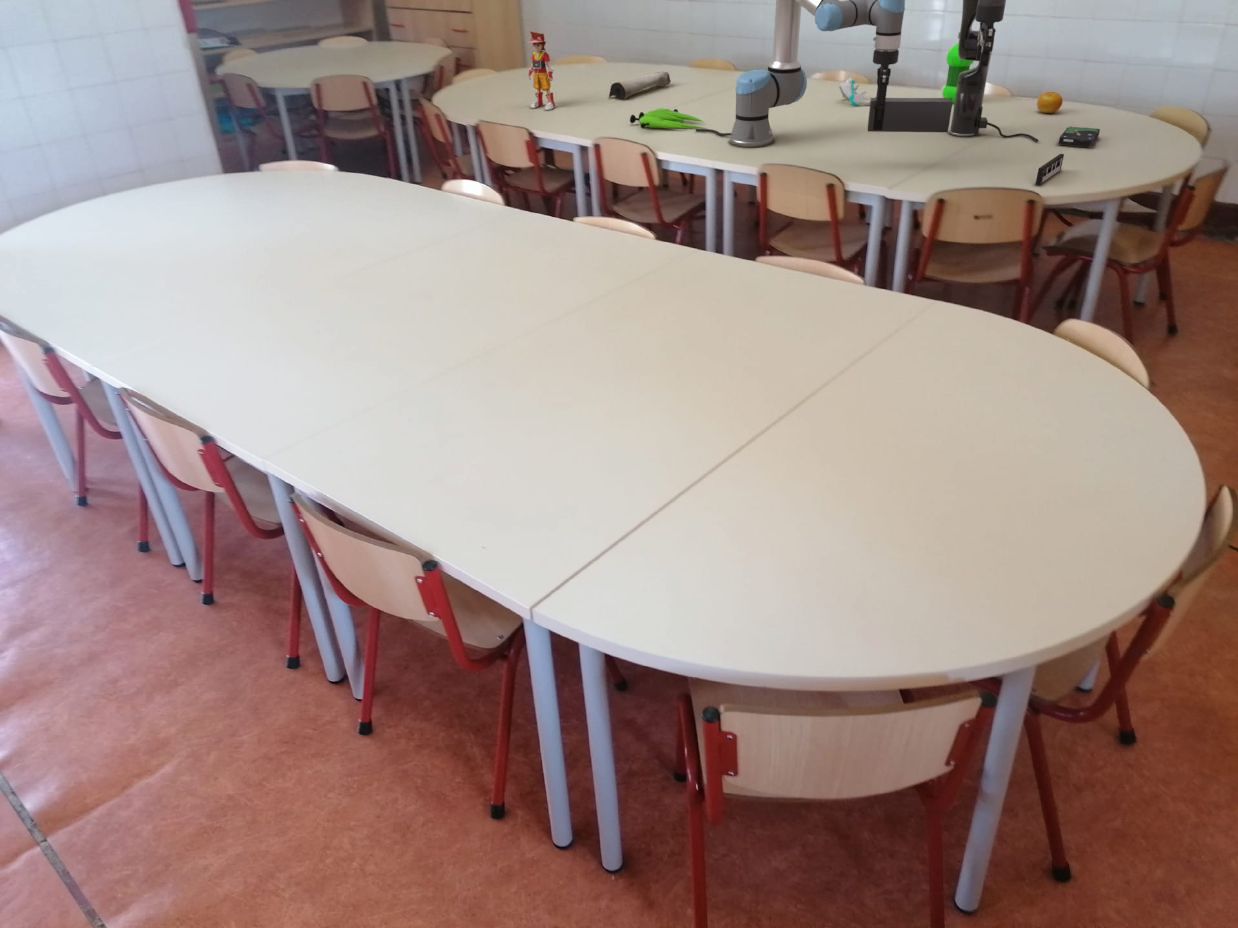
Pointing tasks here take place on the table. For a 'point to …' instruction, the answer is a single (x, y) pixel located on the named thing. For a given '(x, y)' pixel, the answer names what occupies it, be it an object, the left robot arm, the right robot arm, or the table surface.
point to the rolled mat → (638, 84)
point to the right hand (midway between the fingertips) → (981, 63)
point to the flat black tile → (1049, 169)
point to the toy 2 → (664, 119)
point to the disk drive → (1079, 136)
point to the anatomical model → (852, 93)
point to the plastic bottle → (954, 71)
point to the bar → (913, 115)
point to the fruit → (1049, 102)
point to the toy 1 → (541, 71)
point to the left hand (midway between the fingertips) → (877, 127)
